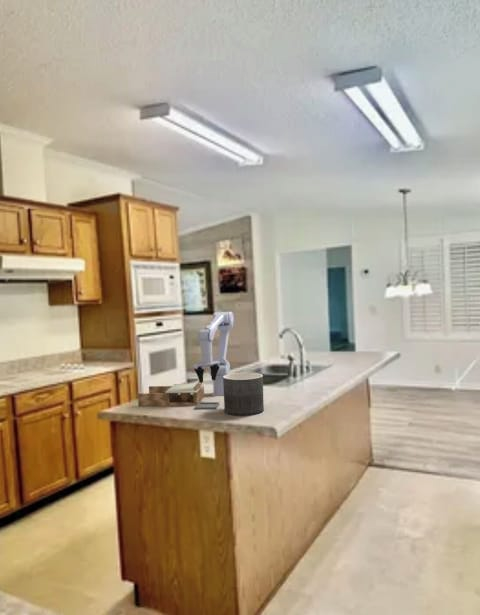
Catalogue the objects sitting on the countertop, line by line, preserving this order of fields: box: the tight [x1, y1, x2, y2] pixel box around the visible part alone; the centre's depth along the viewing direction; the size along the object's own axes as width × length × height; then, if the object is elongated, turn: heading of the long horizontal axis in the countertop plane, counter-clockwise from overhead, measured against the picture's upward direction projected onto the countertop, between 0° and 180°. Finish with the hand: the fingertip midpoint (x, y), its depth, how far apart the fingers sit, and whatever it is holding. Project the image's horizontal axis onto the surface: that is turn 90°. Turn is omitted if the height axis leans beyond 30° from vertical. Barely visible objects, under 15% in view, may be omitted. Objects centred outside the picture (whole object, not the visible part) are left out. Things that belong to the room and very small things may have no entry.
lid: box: [165, 381, 205, 394], centre depth 242 cm, size 15×19×2 cm
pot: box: [179, 393, 192, 402], centre depth 242 cm, size 5×5×5 cm
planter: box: [223, 372, 265, 417], centre depth 219 cm, size 18×18×16 cm
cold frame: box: [137, 385, 205, 407], centre depth 242 cm, size 29×19×6 cm, turn 84°
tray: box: [194, 401, 220, 410], centre depth 228 cm, size 10×10×1 cm
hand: (207, 381), depth 240 cm, fingers open, 7 cm apart
